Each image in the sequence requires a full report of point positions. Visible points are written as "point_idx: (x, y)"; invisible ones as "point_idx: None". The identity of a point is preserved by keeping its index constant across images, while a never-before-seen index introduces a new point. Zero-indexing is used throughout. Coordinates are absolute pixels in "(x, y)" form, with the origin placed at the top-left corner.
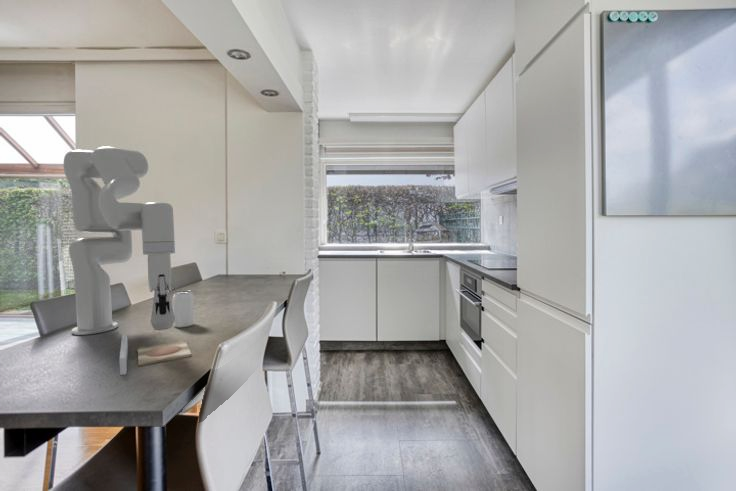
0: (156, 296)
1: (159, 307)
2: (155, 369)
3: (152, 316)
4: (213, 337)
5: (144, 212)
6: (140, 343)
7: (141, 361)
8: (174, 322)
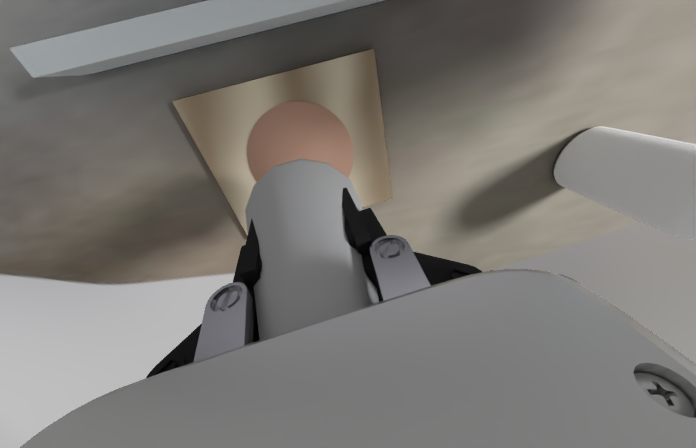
0: (199, 343)
1: (235, 273)
2: (140, 166)
3: (266, 192)
4: None
5: None
6: (461, 37)
7: (198, 107)
8: (599, 133)
